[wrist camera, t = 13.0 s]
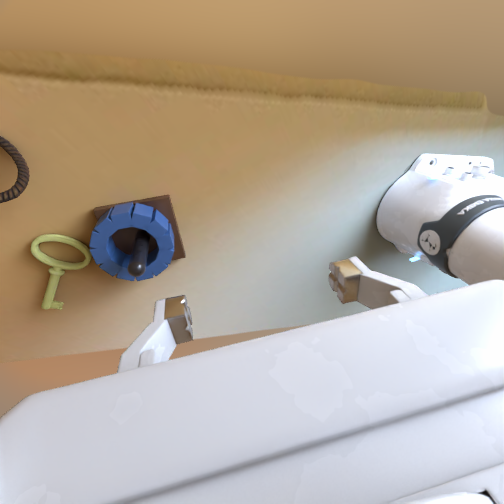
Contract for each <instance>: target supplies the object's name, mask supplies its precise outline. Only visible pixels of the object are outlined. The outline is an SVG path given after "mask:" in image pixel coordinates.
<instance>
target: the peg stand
mask: <svg viewBox="0 0 504 504" xmlns="http://www.w3.org/2000/svg"><path fill="white" fill-rule="evenodd" d="M131 202H133V205H134V208H135V205H136V203H140V204H143V205H146V206H150V207H153V212H154V211H155V210H156V209H157V210H158V211H159V212H160V213H161V214H162V215H163V216H165V217H166V218H167V219H168V220H169V221H168V223H170V224H171V227H172V231H173V234H174V253H173V256H172V259H171V260H176V259H180V258H185V251H184V247H183V244H182V240H181V236H180V233H179V229H178V225H177V221H176V218H175V214H174V210H173V207H172V203H171V199H170V195H164V196H159V197H153V198H147V199H142V200H136V201H130V202H124V203H119V204H113V205H107V206H101V207H96V208H95V209H94V214H95V216H96V218H97V221H98V220H99V219H100V217H101V216H102V215H103V214H104V213H106V212H107V211H108V210H109V209H110V208H111V207H113V208H114V207H115V205H120V204H126V203H131ZM111 237H112V239H113V241H114V244H115V246H116V247H117V248H118V249H120V250H121V251H122V252H124V253H125V254H128V255H131V256H130V260H129V264H128V268H127V269H128V272H129V274H130V275H132V276H134V277H139V276H141V275H143V274H144V272H145V269H146V263H147V256H148V254H150V253H151V252H152V251H153V250H155V249H156V248H157V246H158V244H157V241H156V239H155V238H154V237H153V236H152V235H151V234H149V233H148V232H147V231H146V230H143V229H139V228H135V227H129V228H123V229H118V230H117V231H116V232H115V233H114V234H112V236H111Z"/></svg>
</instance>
